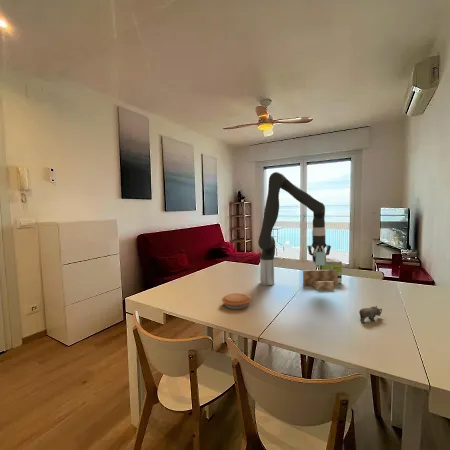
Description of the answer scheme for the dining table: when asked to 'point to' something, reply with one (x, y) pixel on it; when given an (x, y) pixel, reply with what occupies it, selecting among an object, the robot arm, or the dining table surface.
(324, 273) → the wooden stand
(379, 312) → the rhino figurine
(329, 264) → the tea box
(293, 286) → the dining table surface
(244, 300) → the pie
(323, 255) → the tall sage green box
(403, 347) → the dining table surface
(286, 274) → the dining table surface
